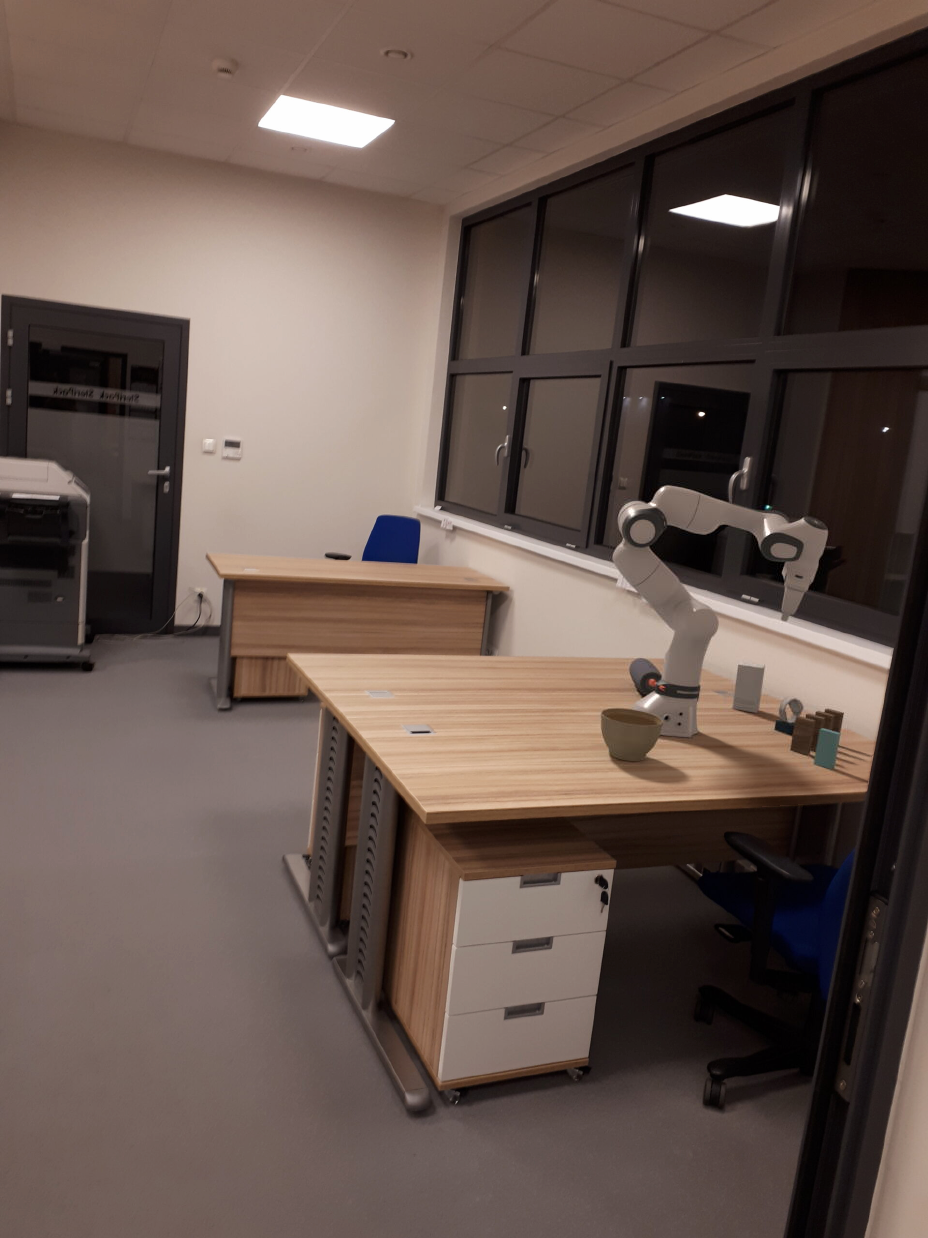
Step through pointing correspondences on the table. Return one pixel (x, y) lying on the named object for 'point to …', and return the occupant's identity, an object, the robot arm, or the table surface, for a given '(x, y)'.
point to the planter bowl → (630, 732)
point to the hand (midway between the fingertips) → (785, 612)
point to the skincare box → (748, 687)
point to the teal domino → (827, 748)
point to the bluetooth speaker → (644, 675)
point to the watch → (786, 724)
